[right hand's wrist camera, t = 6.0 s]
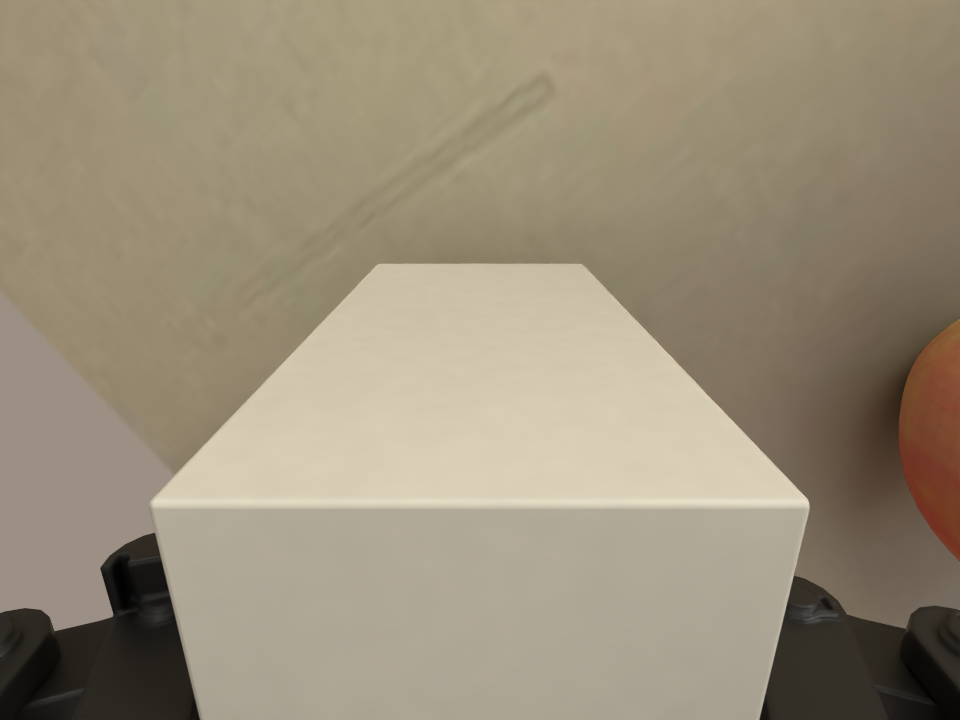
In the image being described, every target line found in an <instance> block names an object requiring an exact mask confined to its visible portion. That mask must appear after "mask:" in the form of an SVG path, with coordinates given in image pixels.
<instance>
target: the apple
mask: <svg viewBox="0 0 960 720" xmlns="http://www.w3.org/2000/svg"><path fill="white" fill-rule="evenodd" d="M899 448H900V456H901V461H902V466H903V470H904V475H905V478H906V481H907V484H908V487H909V489H910V491H911V494H912V496H913V498H914V500H915V502H916V505H917V507H918V508H919V510H920V512H921V513H922V515H923V516H924V518H925V519H926V521H927V523H928V524H929V526H930V527H931V529H932V530H933V531H934V532H935V534H936V535H937V536H938V537H939V539H940V540H941V541H942V542H943V543H944V545H945V546H946V547H947V548H948V549H949V550H950V551H951V552H952V554H953V555H954V556H955V557H956V558H957V559H958V560H959V561H960V319H958V320H957V321H955V322H954V323H953V324H951V325H950V326H948V327H947V328H946V329H944V330H943V331H942V332H941V333H940V334H938V335H937V336H936V337H935V338H934V339H933V340H932V341H931V342H930V343H929V344H928V345H927V346H926V347H925V348H924V349H923V350H922V352H921V353H920V354H919V356H918V357H917V359H916V361H915V362H914V364H913V366H912V368H911V370H910V373H909V375H908V378H907V381H906V384H905V388H904V392H903V397H902V402H901V409H900V418H899Z"/></svg>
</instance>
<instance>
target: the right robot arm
mask: <svg viewBox="0 0 960 720" xmlns="http://www.w3.org/2000/svg"><path fill="white" fill-rule="evenodd" d="M100 569H101V572H102V576H103V579H104V583H105V586H106V590H107V593H108V597H109V600H110V604H111V607H112V611H113V614H114V615H113V617H111V618H108V619H105V620H101V621H97V622H93V623H89V624H84V625H80V626H76V627H72V628H67V629H63V630H59V631H54V629H53V626H52V623H51V620H50V617H49V616H48V615H46V614H45V613H44V612H43V611H41V610H36V609H27V608H24V609H18V610H12V611H6V612H2V613H0V720H200V717H199V713H198V709H197V705H196V701H195V697H194V692H193V688H192V684H191V680H190V676H189V672H188V667H187V663H186V659H185V655H184V651H183V647H182V642H181V638H180V634H179V630H178V626H177V622H176V618H175V613H174V609H173V605H172V601H171V597H170V593H169V588H168V584H167V580H166V576H165V572H164V568H163V563H162V559H161V555H160V551H159V547H158V543H157V538H156V534H155V533H152V534H149V535H145V536H142V537H140V538H138V539H136V540H134V541H132V542H129V543H127V544H125V545H124V546H122V547H121V548H120V549H118V550H117V551H116V552H114V553H113V554H112V555H110V556H109V557H108V559H107V560H106V561H105V563H104V564H103V565H102V567H101V568H100ZM759 720H960V611H959V610H957V609H952V608H946V607H940V606H929V607H920V608H918V609H917V610H916V611H915V612H913V613H912V614H911V615H910V618H909V621H908V624H907V627H906V629H903V628H899V627H894V626H890V625H886V624H881V623H877V622H873V621H868V620H864V619H860V618H856V617H853V616H850V615H847V614H846V612H845V611H844V609H843V608H842V606H841V605H840V603H839V602H838V600H836V599H835V598H834V597H833V596H832V595H830V594H829V593H828V592H827V591H825V590H824V589H823V588H821V587H819V586H817V585H815V584H814V583H812V582H810V581H808V580H806V579H803V578H800V577H796V576H794V577H793V581H792V585H791V589H790V593H789V597H788V602H787V606H786V610H785V614H784V618H783V622H782V627H781V631H780V635H779V639H778V643H777V647H776V652H775V656H774V660H773V664H772V668H771V672H770V677H769V681H768V685H767V689H766V693H765V698H764V702H763V706H762V710H761V714H760V718H759Z"/></svg>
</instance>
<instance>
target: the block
mask: <svg viewBox="0 0 960 720" xmlns="http://www.w3.org/2000/svg"><path fill="white" fill-rule="evenodd" d="M149 509H150V513H151V518H152V522H153V526H154V530H155V534H156V538H157V543H158V547H159V551H160V555H161V559H162V563H163V568H164V572H165V576H166V580H167V584H168V588H169V593H170V597H171V601H172V605H173V609H174V613H175V618H176V622H177V626H178V630H179V634H180V638H181V642H182V647H183V651H184V655H185V659H186V663H187V667H188V672H189V676H190V680H191V684H192V688H193V692H194V697H195V701H196V705H197V709H198V713H199V717H200V720H759V718H760V714H761V710H762V706H763V702H764V698H765V693H766V689H767V685H768V681H769V677H770V672H771V668H772V664H773V660H774V656H775V652H776V647H777V643H778V639H779V635H780V631H781V627H782V622H783V618H784V614H785V610H786V606H787V602H788V597H789V593H790V589H791V585H792V581H793V577H794V572H795V568H796V564H797V560H798V556H799V551H800V547H801V543H802V539H803V535H804V531H805V526H806V522H807V518H808V514H809V510H810V506H809V502H808V499H807V498H806V497H805V496H804V495H803V494H802V493H801V492H800V491H799V490H798V489H797V488H796V487H795V485H794V484H793V483H792V482H791V481H790V480H789V479H788V478H787V477H786V476H785V475H784V474H783V473H782V472H781V471H780V470H779V469H778V468H777V467H776V466H775V465H774V464H773V463H772V461H771V460H770V459H769V458H768V457H767V456H766V455H765V454H764V453H763V452H762V451H761V450H760V449H759V448H758V447H757V446H756V445H755V444H754V443H753V442H752V441H751V440H750V439H749V438H748V436H747V435H746V434H745V433H744V432H743V431H742V430H741V429H740V428H739V427H738V426H737V425H736V424H735V423H734V422H733V421H732V420H731V419H730V418H729V417H728V416H727V415H726V414H725V412H724V411H723V410H722V409H721V408H720V407H719V406H718V405H717V404H716V403H715V402H714V401H713V400H712V399H711V398H710V397H709V396H708V395H707V394H706V393H705V392H704V391H703V390H702V388H701V387H700V386H699V385H698V384H697V383H696V382H695V381H694V380H693V379H692V378H691V377H690V376H689V375H688V374H687V373H686V372H685V371H684V370H683V369H682V368H681V367H680V366H679V364H678V363H677V362H676V361H675V360H674V359H673V358H672V357H671V356H670V355H669V354H668V353H667V352H666V351H665V350H664V349H663V348H662V347H661V346H660V345H659V344H658V343H657V342H656V340H655V339H654V338H653V337H652V336H651V335H650V334H649V333H648V332H647V331H646V330H645V329H644V328H643V327H642V326H641V325H640V324H639V323H638V322H637V321H636V320H635V319H634V318H633V316H632V315H631V314H630V313H629V312H628V311H627V310H626V309H625V308H624V307H623V306H622V305H621V304H620V303H619V302H618V301H617V300H616V299H615V298H614V297H613V296H612V295H611V294H610V293H609V291H608V290H607V289H606V288H605V287H604V286H603V285H602V284H601V283H600V282H599V281H598V280H597V279H596V278H595V277H594V276H593V275H592V274H591V273H590V272H589V271H588V270H587V269H586V267H585V266H584V265H582V264H377V265H376V266H375V267H374V268H373V269H372V270H371V271H370V272H369V273H368V274H367V275H366V277H365V278H364V279H363V280H362V281H361V282H360V283H359V284H358V285H357V286H356V287H355V288H354V289H353V290H352V291H351V292H350V293H349V294H348V295H347V296H346V297H345V298H344V299H343V300H342V301H341V303H340V304H339V305H338V306H337V307H336V308H335V309H334V310H333V311H332V312H331V313H330V314H329V315H328V316H327V317H326V318H325V319H324V320H323V321H322V322H321V323H320V324H319V325H318V326H317V328H316V329H315V330H314V331H313V332H312V333H311V334H310V335H309V336H308V337H307V338H306V339H305V340H304V341H303V342H302V343H301V344H300V345H299V346H298V347H297V348H296V349H295V350H294V351H293V352H292V354H291V355H290V356H289V357H288V358H287V359H286V360H285V361H284V362H283V363H282V364H281V365H280V366H279V367H278V368H277V369H276V370H275V371H274V372H273V373H272V374H271V375H270V376H269V377H268V378H267V380H266V381H265V382H264V383H263V384H262V385H261V386H260V387H259V388H258V389H257V390H256V391H255V392H254V393H253V394H252V395H251V396H250V397H249V398H248V399H247V400H246V401H245V402H244V403H243V404H242V406H241V407H240V408H239V409H238V410H237V411H236V412H235V413H234V414H233V415H232V416H231V417H230V418H229V419H228V420H227V421H226V422H225V423H224V424H223V425H222V426H221V427H220V428H219V429H218V431H217V432H216V433H215V434H214V435H213V436H212V437H211V438H210V439H209V440H208V441H207V442H206V443H205V444H204V445H203V446H202V447H201V448H200V449H199V450H198V451H197V452H196V453H195V454H194V455H193V457H192V458H191V459H190V460H189V461H188V462H187V463H186V464H185V465H184V466H183V467H182V468H181V469H180V470H179V471H178V472H177V473H176V474H175V475H174V476H173V477H172V478H171V479H170V480H169V481H168V483H167V484H166V485H165V486H164V487H163V488H162V489H161V490H160V491H159V492H158V493H157V494H156V495H155V496H154V497H153V498H152V499H151V502H150V507H149Z"/></svg>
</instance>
